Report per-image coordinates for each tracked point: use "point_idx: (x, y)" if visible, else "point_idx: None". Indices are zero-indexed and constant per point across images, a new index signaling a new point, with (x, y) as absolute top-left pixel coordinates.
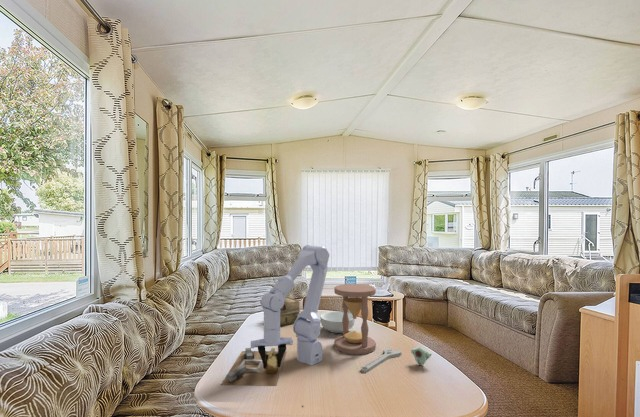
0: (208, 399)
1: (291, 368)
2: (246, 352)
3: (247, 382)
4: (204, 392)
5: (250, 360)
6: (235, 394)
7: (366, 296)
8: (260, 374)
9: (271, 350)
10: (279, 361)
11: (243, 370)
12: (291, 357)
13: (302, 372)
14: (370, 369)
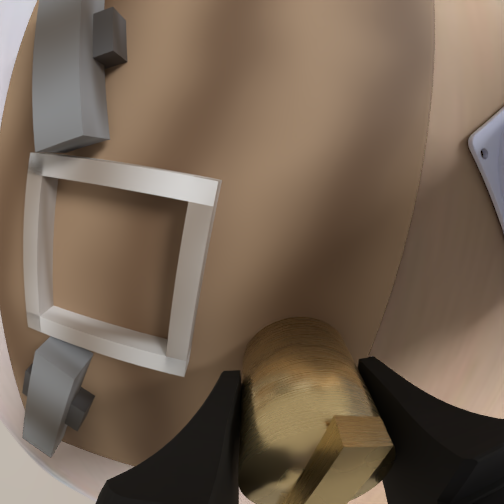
0: (41, 457)
1: (446, 257)
2: (33, 57)
3: (142, 452)
4: (4, 414)
5: (82, 181)
6: (116, 469)
7: None
8: (206, 393)
9: (324, 493)
10: None
11: (76, 387)
12: (458, 57)
13: (480, 323)
14: None
